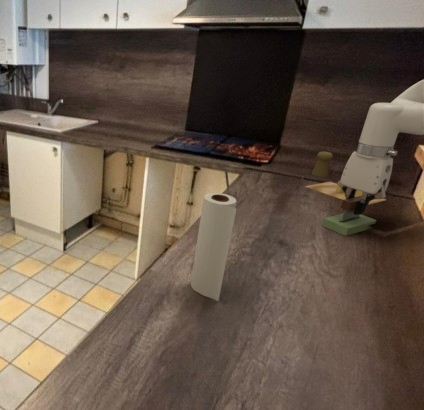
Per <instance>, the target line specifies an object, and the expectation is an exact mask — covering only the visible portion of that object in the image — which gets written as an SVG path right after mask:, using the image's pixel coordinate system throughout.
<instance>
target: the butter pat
mask: <svg viewBox="0 0 424 410" xmlns="http://www.w3.org/2000/svg"><path fill="white" fill-rule="evenodd" d="M336 192H338V193H342V192H344V191H343V190H342V188H340V187H339V186H338V185H337V189H336Z"/></svg>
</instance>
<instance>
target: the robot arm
mask: <svg viewBox="0 0 424 410" xmlns="http://www.w3.org/2000/svg"><path fill="white" fill-rule="evenodd" d="M399 133H404V134H409V135H410V134H411V135H415V136H416V135H417V136H424V78H423V79H422V80H419V81H417V82H416V83H415V84H414V83H413V85H411V86H409V87H408V88H407V89H405V90H404V91H403V92H402V93H400V94H399V95H398V96H397V97H395V98H394V99H393V100H392V101H391V102H375V103H373V104H371V105H370V106H369V109H368V111H367V115H366V118H365V121H364V124H363V127H362V130H361V133H360V136H359V139H358V143H357V146H356V149H355V150H354V151H353V152H352V153H351V155H350V156H349V158H348V160H347V162H346V164H345V166H344V168H343V171H342V174H341V177H340V179H339V180H338V182H336V184H337V185H338V186H339V187H340V188H342V190H343V191H344V193H345V197H346V199H349V198H353V197H354V196H355V193H356V191H357V190H359V191H362V192H363V193H362V196H361V199H360V202H357V205H356V208H355V210H354V215H359V214H361V215H363V213H364V212H365V211H366V208H367V207H368V206H367V203H368V202H369V201H371V200H374V199H387V195H386V191H387V189H388V187H389V184H390V179H391V176H392V171H393V165H394V163H393V162H394V158H393V157H391V156H395V157H396V156H397V155H398V150H395V143H396V141H397V138H398V135H399ZM342 209H343V208H342ZM344 210H345V209H343V211H344Z"/></svg>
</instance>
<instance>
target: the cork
mask: <svg viewBox="0 0 424 410" xmlns="http://www.w3.org/2000/svg"><path fill="white" fill-rule="evenodd" d="M332 159H333V153H332V152H330V151H319V152H318V153H317V155H316V162H315V165H314V167H313V169H312V171H311V173H310V174H311V175H312V176H314V177H319V178H328V175H329V170H330V169H329V167H330V162H331V160H332Z"/></svg>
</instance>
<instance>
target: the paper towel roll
mask: <svg viewBox="0 0 424 410" xmlns="http://www.w3.org/2000/svg"><path fill="white" fill-rule="evenodd" d="M237 202H238V201H237V198H235V197H234V196H232V195H229V194H226V193H222V192H221V193H220V192H209V193H206V194H205V195H203V201H202V207H201V213H200V219H199V226H198V233H197V239H196V244H195V245H196V246H195V252H194V258H193V263H192V264H193V265H192V271H191V272H192V273H191V278H190V287H191V288H192V290H193V291H195V292H196V293H197V294H199V295H201V296H203V297H206V298H210V299H212V300H214V301H216V302H219V301H220V295H221V290H222V285H223V280H224V275H225V271H226V270H225V269H226V265H227V260H228V255H229V250H230V245H231V241H232V240H231V239H232V234H233V230H234V225H235V220H236V215H237V208H236V206H237Z"/></svg>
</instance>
